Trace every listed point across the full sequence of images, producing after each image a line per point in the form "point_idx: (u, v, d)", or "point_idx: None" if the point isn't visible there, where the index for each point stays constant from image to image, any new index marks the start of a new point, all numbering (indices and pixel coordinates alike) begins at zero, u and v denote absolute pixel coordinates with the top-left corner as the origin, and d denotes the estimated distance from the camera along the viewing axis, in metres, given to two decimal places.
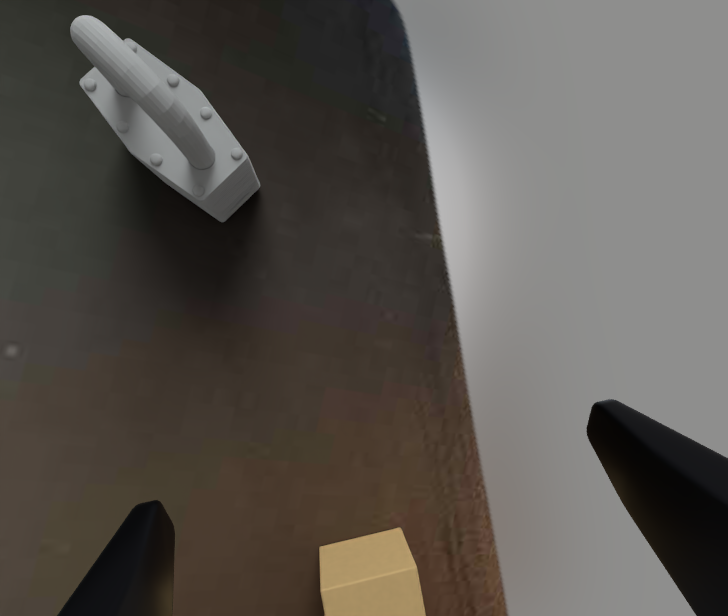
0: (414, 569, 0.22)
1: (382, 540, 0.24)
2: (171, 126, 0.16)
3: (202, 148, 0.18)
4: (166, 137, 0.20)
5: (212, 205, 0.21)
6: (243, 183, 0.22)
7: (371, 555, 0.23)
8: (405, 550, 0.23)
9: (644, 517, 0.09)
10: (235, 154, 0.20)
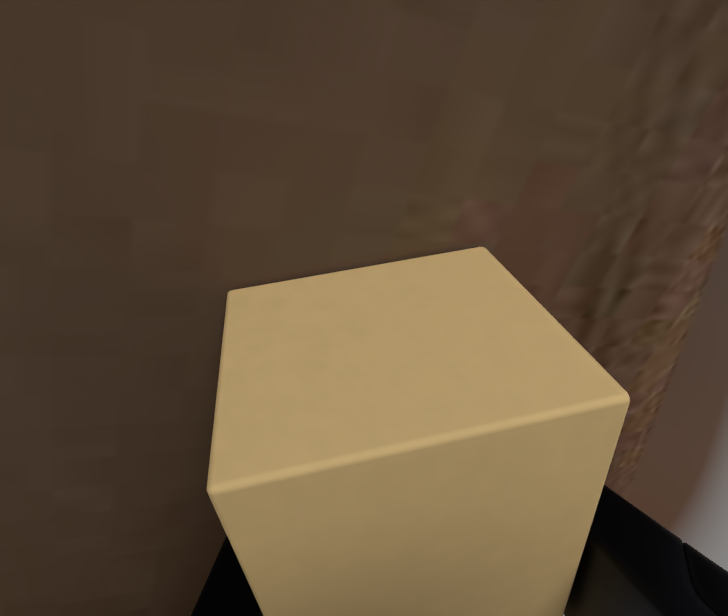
0: (620, 406, 0.05)
1: (439, 281, 0.07)
2: None
3: None
4: None
5: None
6: None
7: (414, 333, 0.06)
8: (541, 321, 0.06)
9: None
10: None
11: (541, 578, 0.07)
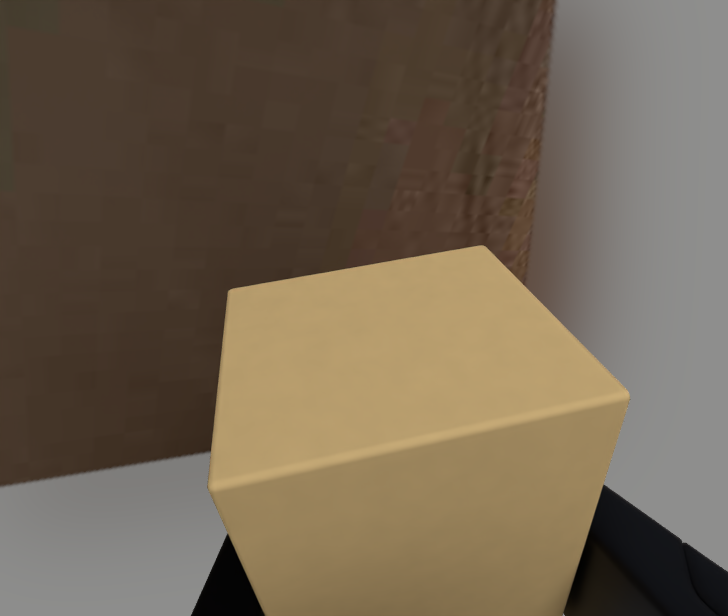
0: (620, 403, 0.05)
1: (439, 280, 0.07)
2: None
3: None
4: None
5: None
6: None
7: (414, 331, 0.06)
8: (541, 319, 0.06)
9: None
10: None
11: (541, 576, 0.07)
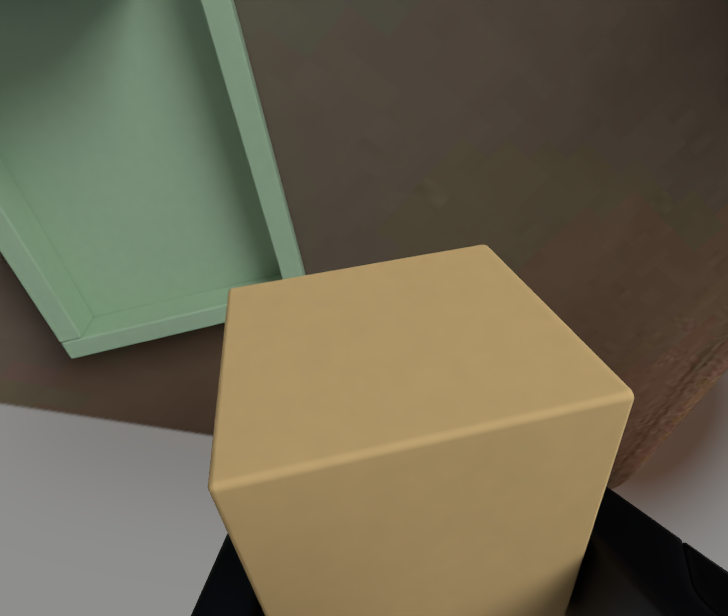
0: (624, 403, 0.05)
1: (441, 279, 0.07)
2: None
3: None
4: None
5: None
6: None
7: (417, 331, 0.06)
8: (544, 318, 0.06)
9: None
10: None
11: (543, 577, 0.07)
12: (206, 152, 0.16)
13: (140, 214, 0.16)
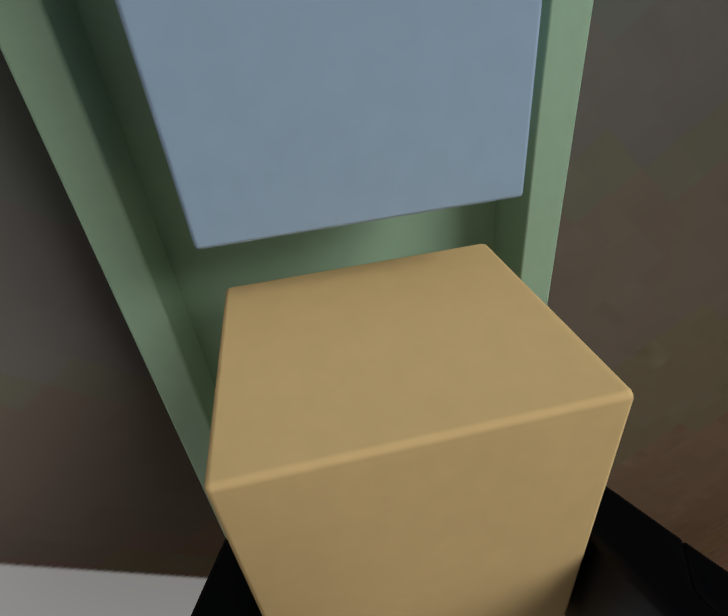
0: (623, 403, 0.05)
1: (440, 278, 0.07)
2: None
3: None
4: None
5: None
6: None
7: (415, 331, 0.06)
8: (543, 318, 0.06)
9: None
10: None
11: (542, 577, 0.07)
12: None
13: None
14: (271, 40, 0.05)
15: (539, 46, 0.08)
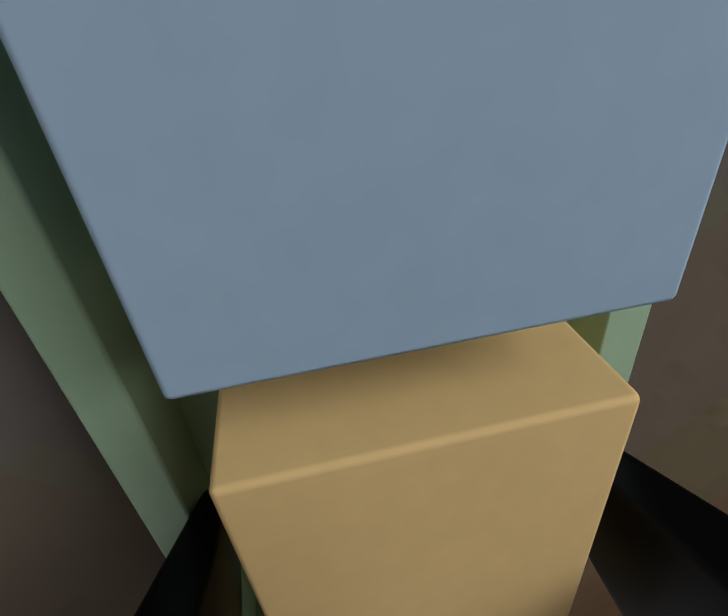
0: (629, 406, 0.05)
1: None
2: None
3: None
4: None
5: None
6: None
7: None
8: None
9: None
10: None
11: (546, 579, 0.07)
12: None
13: None
14: (295, 67, 0.03)
15: None
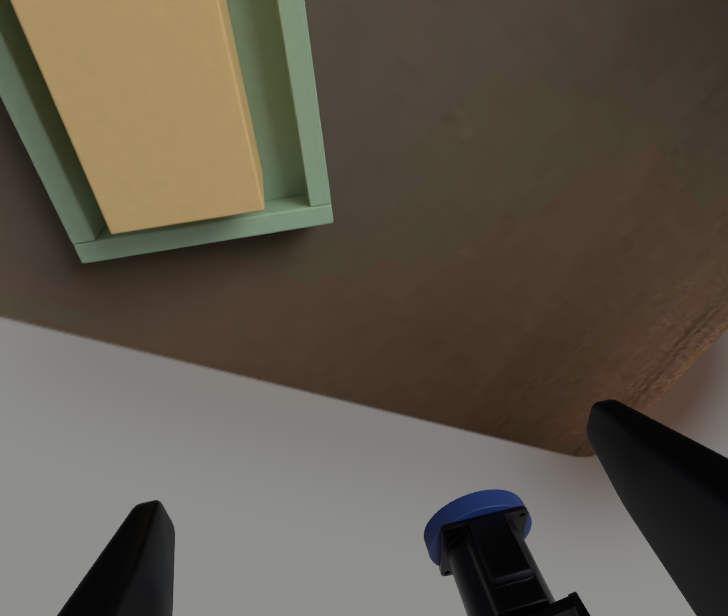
0: None
1: None
2: None
3: None
4: None
5: None
6: None
7: None
8: None
9: (644, 517, 0.09)
10: None
11: (203, 50, 0.12)
12: (240, 51, 0.15)
13: None
14: None
15: None
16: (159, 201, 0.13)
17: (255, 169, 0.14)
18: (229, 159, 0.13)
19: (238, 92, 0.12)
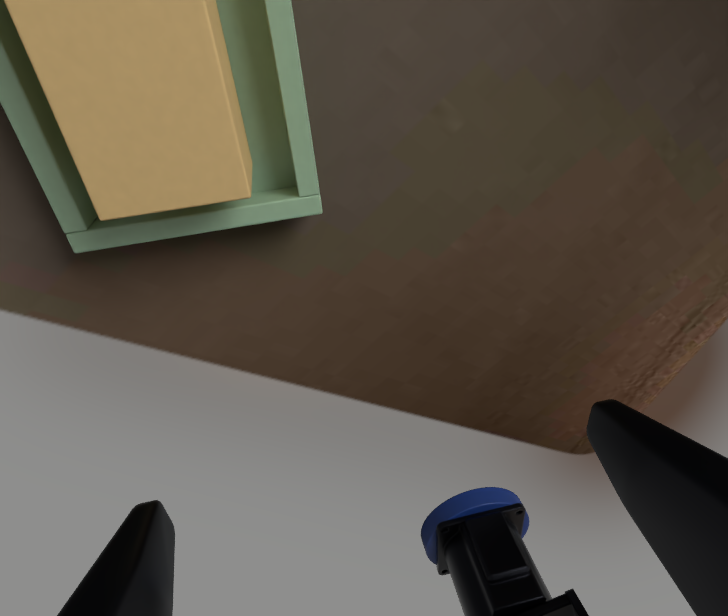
0: None
1: None
2: None
3: None
4: None
5: None
6: None
7: None
8: None
9: (644, 517, 0.09)
10: None
11: (188, 37, 0.12)
12: (228, 43, 0.16)
13: None
14: None
15: None
16: (147, 187, 0.14)
17: (241, 156, 0.14)
18: (215, 146, 0.13)
19: (223, 79, 0.13)
